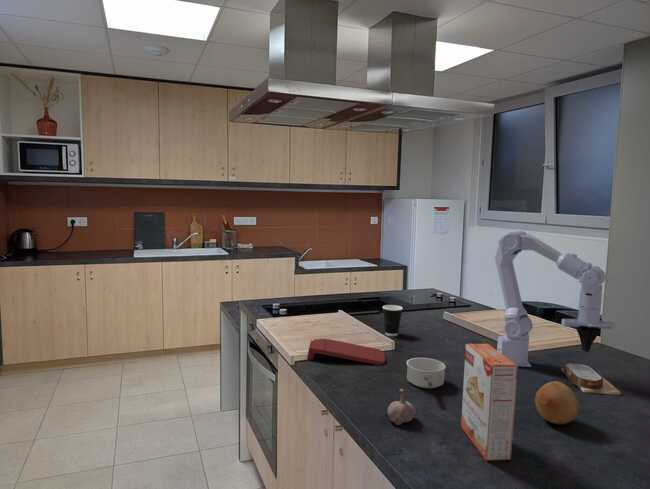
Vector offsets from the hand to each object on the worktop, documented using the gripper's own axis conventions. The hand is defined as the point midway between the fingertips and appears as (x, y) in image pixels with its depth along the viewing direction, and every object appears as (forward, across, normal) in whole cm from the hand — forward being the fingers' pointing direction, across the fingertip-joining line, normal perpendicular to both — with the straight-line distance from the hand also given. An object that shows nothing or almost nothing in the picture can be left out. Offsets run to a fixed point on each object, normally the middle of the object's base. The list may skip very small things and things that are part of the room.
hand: (585, 350), depth 141 cm
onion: (+10, -18, -30) cm, 37 cm away
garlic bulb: (+10, -56, -36) cm, 68 cm away
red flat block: (+10, -73, +5) cm, 74 cm away
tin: (+7, -5, -1) cm, 9 cm away
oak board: (+9, +1, -1) cm, 9 cm away
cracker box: (+10, -38, -44) cm, 59 cm away
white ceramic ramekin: (+10, -48, -16) cm, 52 cm away
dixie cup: (+10, -58, +34) cm, 68 cm away
